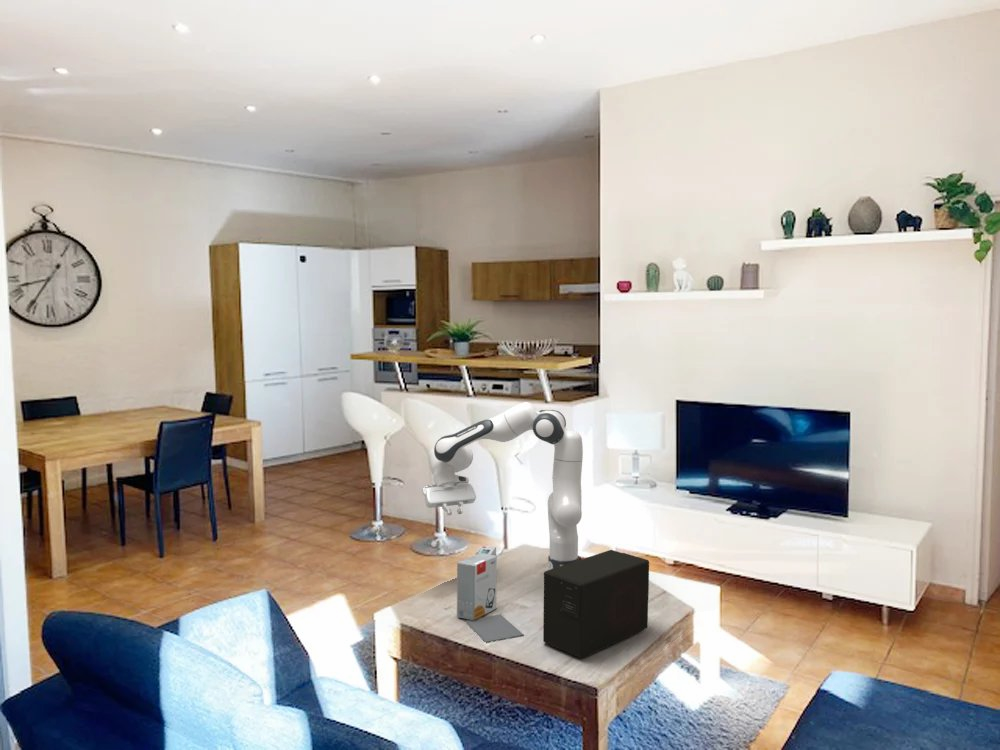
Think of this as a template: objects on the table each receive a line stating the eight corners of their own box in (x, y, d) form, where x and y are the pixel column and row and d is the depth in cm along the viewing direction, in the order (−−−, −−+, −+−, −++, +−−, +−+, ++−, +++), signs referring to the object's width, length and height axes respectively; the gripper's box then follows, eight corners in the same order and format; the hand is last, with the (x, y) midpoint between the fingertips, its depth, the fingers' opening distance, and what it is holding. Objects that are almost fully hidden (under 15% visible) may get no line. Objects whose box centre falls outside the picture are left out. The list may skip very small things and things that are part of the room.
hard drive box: (474, 621, 271) (473, 566, 270) (456, 617, 275) (455, 562, 274) (497, 608, 284) (497, 555, 283) (480, 604, 288) (479, 552, 287)
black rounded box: (608, 612, 281) (609, 545, 279) (651, 629, 267) (653, 558, 265) (535, 642, 256) (536, 569, 254) (579, 662, 242) (580, 585, 239)
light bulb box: (491, 580, 314) (491, 554, 314) (475, 579, 316) (475, 553, 315) (496, 571, 325) (496, 546, 324) (481, 570, 326) (481, 545, 325)
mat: (500, 615, 278) (500, 614, 278) (523, 635, 261) (523, 634, 261) (464, 621, 272) (464, 620, 272) (485, 642, 255) (485, 641, 255)
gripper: (423, 481, 299) (431, 512, 291) (471, 477, 307) (481, 506, 299) (419, 490, 303) (427, 521, 295) (467, 485, 312) (476, 515, 304)
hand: (455, 513), depth 297 cm, fingers open, 3 cm apart
